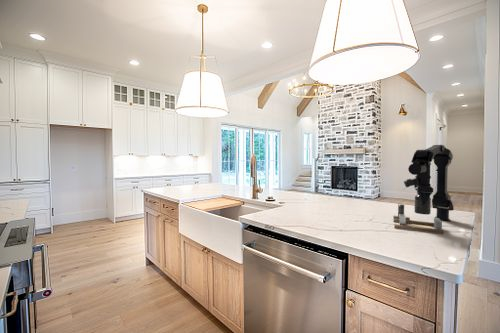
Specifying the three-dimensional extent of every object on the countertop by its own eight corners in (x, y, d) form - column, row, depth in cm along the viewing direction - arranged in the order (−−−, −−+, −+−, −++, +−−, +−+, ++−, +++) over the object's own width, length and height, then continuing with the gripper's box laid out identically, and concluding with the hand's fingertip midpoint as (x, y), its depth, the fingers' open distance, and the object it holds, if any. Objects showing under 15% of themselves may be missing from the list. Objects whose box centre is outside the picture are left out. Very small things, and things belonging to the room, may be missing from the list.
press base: (393, 218, 143) (393, 210, 143) (435, 222, 133) (435, 213, 133) (394, 228, 124) (394, 218, 124) (443, 234, 114) (443, 223, 114)
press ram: (397, 218, 142) (398, 204, 141) (403, 218, 140) (404, 204, 140) (399, 226, 126) (399, 210, 125) (406, 227, 124) (406, 211, 124)
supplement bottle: (433, 215, 119) (433, 191, 119) (418, 214, 121) (418, 190, 121) (426, 212, 126) (426, 190, 126) (412, 211, 128) (412, 189, 127)
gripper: (403, 172, 135) (403, 199, 136) (406, 174, 119) (405, 205, 119) (428, 172, 129) (427, 201, 130) (433, 175, 113) (433, 207, 114)
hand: (422, 203), depth 124 cm, fingers closed on supplement bottle, 7 cm apart
